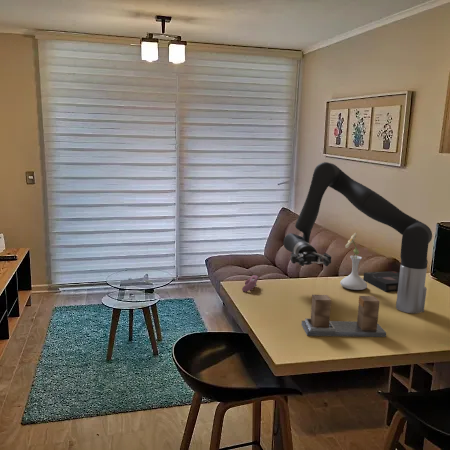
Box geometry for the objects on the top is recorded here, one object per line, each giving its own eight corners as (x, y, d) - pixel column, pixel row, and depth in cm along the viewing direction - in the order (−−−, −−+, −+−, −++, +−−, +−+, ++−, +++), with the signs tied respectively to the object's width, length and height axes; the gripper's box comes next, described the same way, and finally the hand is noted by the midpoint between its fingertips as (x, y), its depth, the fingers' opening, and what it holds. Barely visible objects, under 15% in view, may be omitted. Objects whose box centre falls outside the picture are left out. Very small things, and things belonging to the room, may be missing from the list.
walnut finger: (325, 323, 158) (328, 294, 156) (329, 329, 153) (332, 300, 151) (310, 322, 157) (312, 294, 156) (313, 328, 153) (316, 299, 151)
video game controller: (250, 296, 191) (258, 282, 189) (240, 290, 191) (249, 276, 189) (253, 288, 200) (261, 275, 198) (244, 283, 200) (252, 270, 199)
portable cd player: (385, 293, 198) (386, 284, 197) (363, 281, 214) (363, 272, 213) (418, 291, 202) (419, 282, 202) (393, 279, 218) (394, 271, 218)
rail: (375, 325, 161) (376, 319, 160) (385, 336, 152) (386, 329, 152) (301, 324, 159) (301, 317, 159) (307, 335, 151) (307, 328, 150)
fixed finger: (371, 324, 159) (374, 296, 157) (376, 330, 154) (379, 301, 152) (355, 323, 158) (358, 295, 156) (360, 329, 153) (363, 300, 151)
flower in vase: (345, 282, 209) (350, 227, 205) (370, 287, 203) (376, 231, 198) (334, 289, 199) (339, 231, 194) (360, 295, 192) (365, 236, 188)
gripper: (287, 243, 179) (295, 253, 163) (323, 243, 179) (335, 253, 164) (286, 262, 180) (294, 273, 164) (322, 262, 181) (334, 273, 165)
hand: (315, 263), depth 164 cm, fingers open, 8 cm apart
